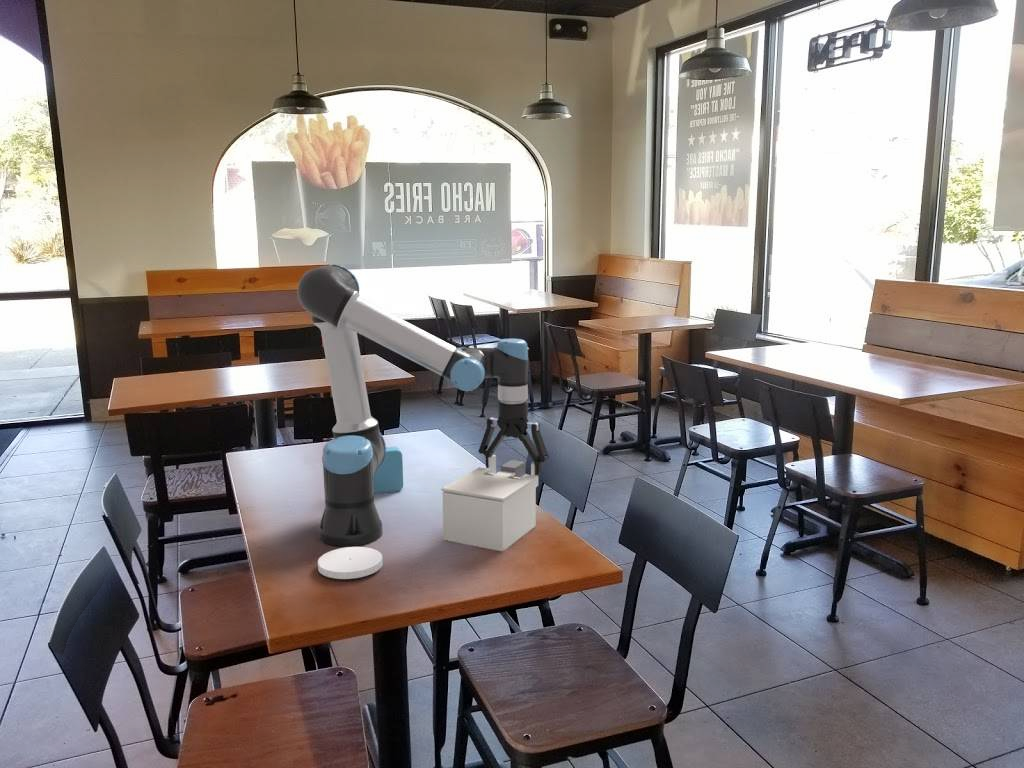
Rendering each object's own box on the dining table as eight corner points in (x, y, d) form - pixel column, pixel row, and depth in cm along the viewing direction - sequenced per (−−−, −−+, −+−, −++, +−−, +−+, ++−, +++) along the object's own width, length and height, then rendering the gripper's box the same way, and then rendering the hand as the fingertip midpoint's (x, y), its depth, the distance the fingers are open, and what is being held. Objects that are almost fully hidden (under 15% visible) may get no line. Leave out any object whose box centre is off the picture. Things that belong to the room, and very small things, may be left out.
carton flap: (503, 506, 189) (503, 493, 188) (441, 495, 196) (441, 483, 196) (547, 476, 211) (547, 464, 210) (490, 467, 218) (489, 456, 217)
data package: (401, 486, 238) (399, 445, 236) (403, 490, 234) (402, 450, 232) (359, 490, 235) (357, 449, 233) (360, 495, 231) (359, 453, 229)
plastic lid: (393, 573, 180) (392, 562, 180) (331, 589, 173) (330, 577, 173) (368, 552, 192) (367, 542, 192) (309, 565, 185) (308, 555, 184)
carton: (502, 551, 191) (502, 502, 189) (443, 539, 198) (442, 492, 196) (535, 525, 207) (535, 480, 205) (479, 516, 214) (478, 471, 212)
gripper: (562, 402, 206) (561, 485, 210) (478, 393, 216) (479, 473, 221) (550, 408, 199) (549, 494, 204) (464, 399, 210) (465, 481, 214)
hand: (513, 483), depth 212 cm, fingers open, 11 cm apart
